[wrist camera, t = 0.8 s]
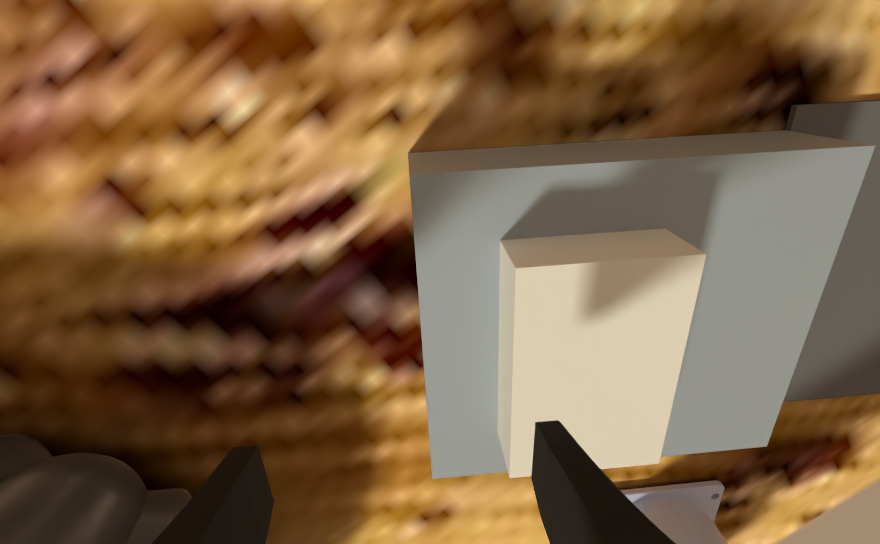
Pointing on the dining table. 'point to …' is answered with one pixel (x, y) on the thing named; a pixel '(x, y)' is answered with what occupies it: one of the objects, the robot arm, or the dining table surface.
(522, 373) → the cream rectangular block
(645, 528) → the robot arm
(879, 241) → the mat
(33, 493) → the bundt pan
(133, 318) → the dining table surface
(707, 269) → the grey flat block
